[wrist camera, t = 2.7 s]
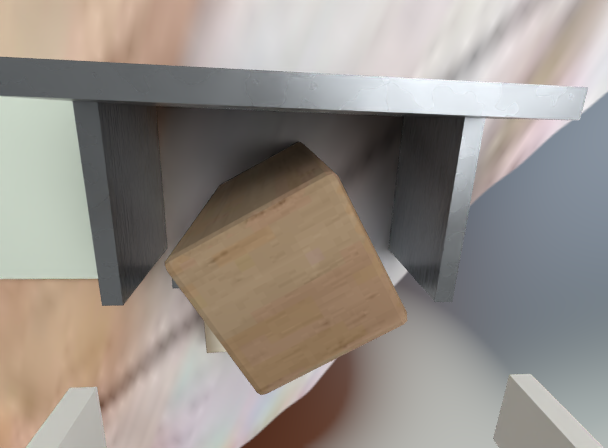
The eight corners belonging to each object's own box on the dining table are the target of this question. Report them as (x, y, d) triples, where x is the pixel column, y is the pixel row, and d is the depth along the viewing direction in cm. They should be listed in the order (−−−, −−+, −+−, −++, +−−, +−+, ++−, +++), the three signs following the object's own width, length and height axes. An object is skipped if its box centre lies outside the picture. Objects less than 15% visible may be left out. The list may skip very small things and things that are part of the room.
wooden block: (343, 221, 39) (413, 323, 20) (264, 263, 40) (259, 401, 21) (301, 139, 36) (335, 168, 17) (216, 186, 37) (157, 265, 18)
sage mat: (-52, 274, 37) (-62, 279, 36) (-104, 89, 32) (-117, 88, 30) (119, 273, 38) (114, 278, 37) (97, 98, 33) (91, 97, 32)
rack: (155, 273, 39) (44, 426, 20) (138, 88, 33) (-40, 54, 14) (398, 272, 41) (506, 407, 22) (420, 101, 36) (588, 87, 17)
